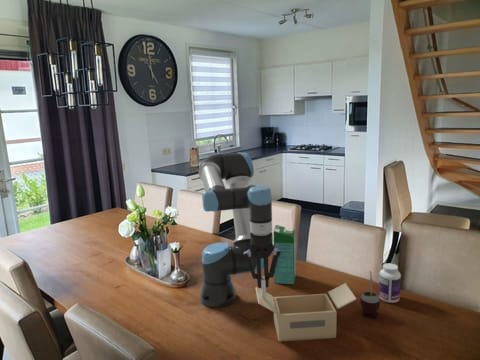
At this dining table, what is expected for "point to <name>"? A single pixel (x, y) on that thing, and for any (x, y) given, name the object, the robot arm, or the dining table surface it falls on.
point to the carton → (304, 317)
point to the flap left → (266, 300)
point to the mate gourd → (370, 302)
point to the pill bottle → (389, 283)
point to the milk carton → (285, 255)
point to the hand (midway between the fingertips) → (263, 295)
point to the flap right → (341, 296)
